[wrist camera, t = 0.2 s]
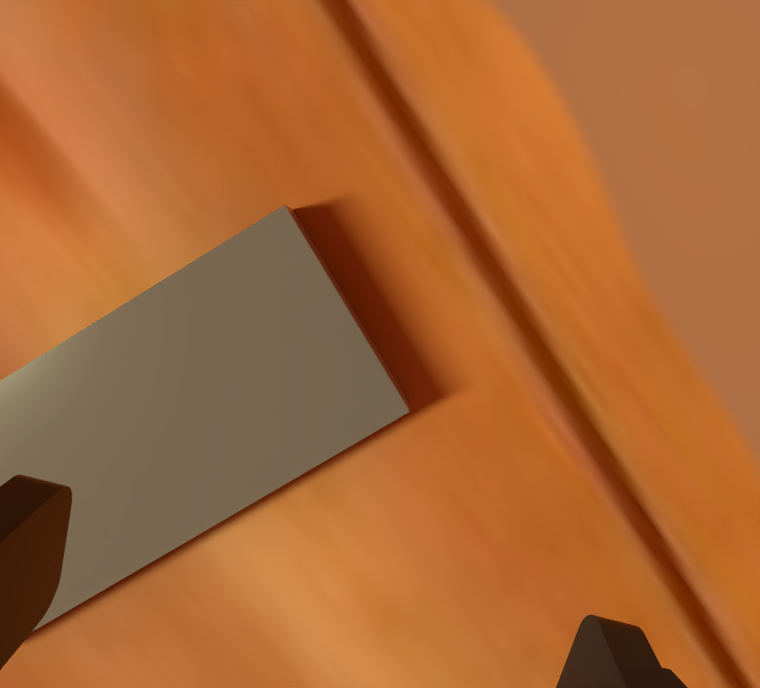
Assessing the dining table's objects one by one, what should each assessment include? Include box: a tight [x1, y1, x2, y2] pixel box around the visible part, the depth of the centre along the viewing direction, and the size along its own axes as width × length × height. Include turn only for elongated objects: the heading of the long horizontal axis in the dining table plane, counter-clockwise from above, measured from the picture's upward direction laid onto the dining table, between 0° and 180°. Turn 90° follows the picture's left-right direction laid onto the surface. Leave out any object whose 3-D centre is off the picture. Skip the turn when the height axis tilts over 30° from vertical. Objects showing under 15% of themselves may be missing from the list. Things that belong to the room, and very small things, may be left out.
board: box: [0, 205, 410, 632], centre depth 33 cm, size 26×11×2 cm, turn 121°
